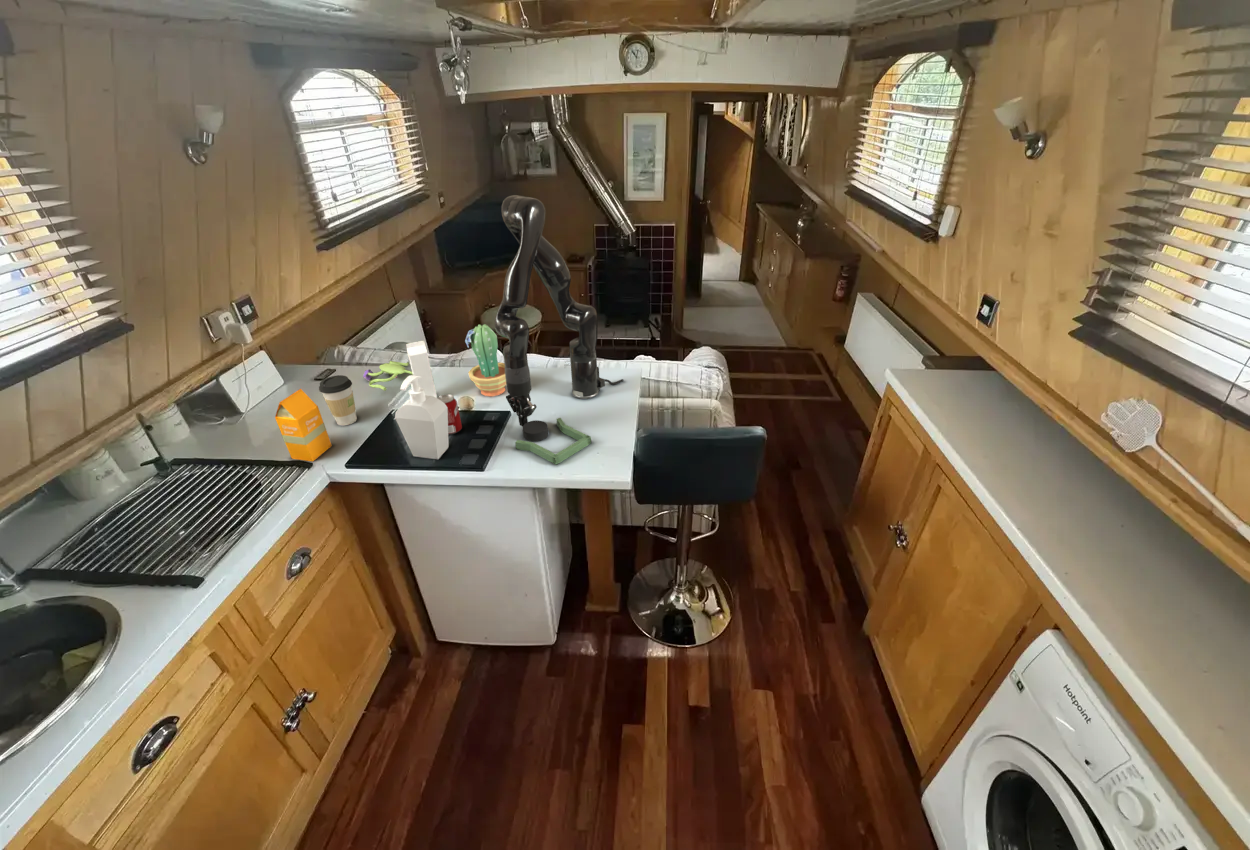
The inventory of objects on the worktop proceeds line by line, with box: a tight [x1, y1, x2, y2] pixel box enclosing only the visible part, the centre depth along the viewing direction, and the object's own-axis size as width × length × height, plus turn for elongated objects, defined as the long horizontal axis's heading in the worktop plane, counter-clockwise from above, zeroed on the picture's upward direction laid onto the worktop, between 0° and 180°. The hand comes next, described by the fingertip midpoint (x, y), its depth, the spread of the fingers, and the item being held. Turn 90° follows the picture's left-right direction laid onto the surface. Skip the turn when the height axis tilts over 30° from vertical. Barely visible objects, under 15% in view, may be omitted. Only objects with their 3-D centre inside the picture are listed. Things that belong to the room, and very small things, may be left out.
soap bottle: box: [394, 374, 449, 460], centre depth 163 cm, size 12×10×26 cm
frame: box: [515, 417, 592, 466], centre depth 172 cm, size 19×16×2 cm
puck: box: [521, 419, 549, 443], centre depth 177 cm, size 8×8×3 cm
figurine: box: [362, 360, 413, 392], centre depth 210 cm, size 18×27×6 cm
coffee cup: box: [318, 374, 358, 426], centre depth 183 cm, size 10×10×15 cm
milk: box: [405, 340, 438, 398], centre depth 193 cm, size 6×6×22 cm
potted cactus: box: [464, 323, 507, 397], centre depth 197 cm, size 15×15×25 cm
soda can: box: [437, 393, 463, 436], centre depth 177 cm, size 7×7×12 cm
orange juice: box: [274, 388, 332, 462], centre depth 166 cm, size 8×9×20 cm
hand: (523, 425), depth 180 cm, fingers closed
